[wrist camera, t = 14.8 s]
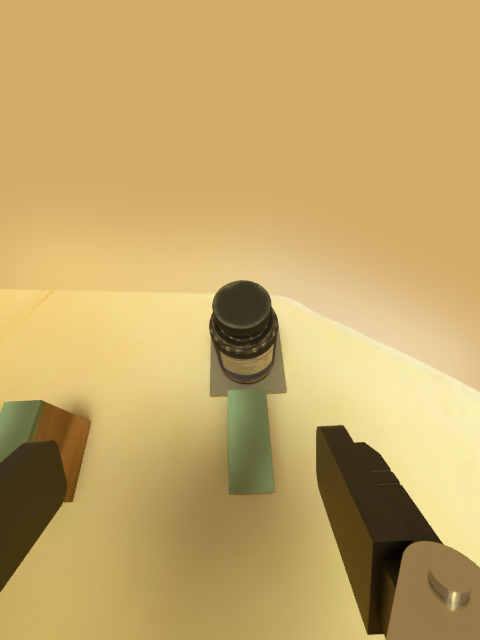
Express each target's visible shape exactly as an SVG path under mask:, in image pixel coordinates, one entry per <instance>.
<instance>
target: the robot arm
mask: <svg viewBox="0 0 480 640" xmlns="http://www.w3.org/2000/svg"><path fill="white" fill-rule="evenodd" d="M316 473H317V481H318V487H319V491H320V494H321V497H322V500H323V503H324V506H325V509H326V512H327V515H328V518H329V521H330V524H331V527H332V530H333V533H334V536H335V539H336V542H337V545H338V548H339V551H340V554H341V557H342V560H343V563H344V566H345V569H346V572H347V575H348V578H349V581H350V584H351V587H352V590H353V593H354V596H355V599H356V602H357V605H358V608H359V611H360V614H361V617H362V620H363V623H364V626H365V629H366V631H367V634H368V635H373V634H384V635H385V638H386V640H480V568H479V567H478V566H477V565H476V564H475V563H474V562H473V561H471V560H470V559H469V558H467V557H466V556H465V555H463V554H461V553H460V552H458V551H456V550H454V549H453V548H451V547H448V546H446V545H444V544H443V543H442V542H441V541H440V539H439V538H438V536H437V535H436V533H435V532H434V531H433V529H432V528H431V526H430V525H429V523H428V522H427V521H426V519H425V518H424V516H423V515H422V513H421V512H420V511H419V509H418V508H417V506H416V505H415V503H414V502H413V500H412V499H411V498H410V496H409V495H408V493H407V492H406V490H405V489H404V488H403V486H402V485H400V482H399V480H398V479H397V478H396V476H395V475H394V473H393V472H391V470H390V468H389V466H388V465H387V463H386V462H385V460H384V459H383V458H382V456H381V455H380V454H379V453H378V452H377V451H375V450H374V449H373V448H371V447H370V446H369V445H367V444H366V443H365V442H358V443H354V442H353V440H352V438H351V437H350V435H349V433H348V432H347V430H346V428H345V427H344V426H343V425H337V426H319V427H317V431H316ZM66 491H67V480H66V476H65V472H64V467H63V463H62V459H61V455H60V450H59V446H58V444H57V442H56V441H54V440H44V441H27V442H24V443H23V444H21V445H20V446H19V447H18V448H17V449H16V450H14V451H13V452H12V453H11V454H10V455H9V456H8V457H6V458H5V459H4V460H3V461H2V462H1V463H0V592H1V590H2V589H3V588H4V586H5V585H6V583H7V582H8V581H9V579H10V578H11V576H12V575H13V573H14V572H15V571H16V569H17V568H18V566H19V565H20V563H21V562H22V561H23V559H24V558H25V556H26V555H27V554H28V552H29V551H30V549H31V548H32V546H33V545H34V544H35V542H36V541H37V539H38V538H39V537H40V535H41V534H42V532H43V531H44V529H45V528H46V527H47V525H48V524H49V522H50V521H51V519H52V518H53V517H54V515H55V514H56V512H57V511H58V510H59V508H60V507H61V505H62V503H63V501H64V499H65V496H66Z"/></svg>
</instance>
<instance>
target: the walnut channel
mask: <svg viewBox="0 0 480 640" xmlns="http://www.w3.org/2000/svg"><path fill="white" fill-rule="evenodd" d="M90 423H91V422H89V421H87V420H85V419H82V418H80V417H78V416H76V415H73V414H71V413H69V412H67V411H64V410H62V409H60V408H58V407H55V406H53V405H51V404H49V403H46V402H44V401H42V400H34V401H15V402H4V405H3V407H2V410H1V412H0V463H1V462H2V461H3V460H4V459H5V458H6V457H8V456H9V455H10V454H11V453H12V452H13V451H14V450H16V449H17V448H18V447H19V446H20V445H21V444H23V443H24V442H27V441H44V440H54V441H56V442H57V444H58V446H59V450H60V455H61V459H62V463H63V467H64V472H65V476H66V480H67V491H66V496H65V499H64V501H63V502H72V501H73V497H74V492H75V488H76V484H77V480H78V475H79V471H80V467H81V462H82V458H83V454H84V449H85V445H86V441H87V436H88V432H89V428H90ZM228 464H229V494H230V495H251V494H271V493H274V481H273V469H272V457H271V445H270V434H269V422H268V410H267V398H266V388H263V389H244V390H228Z"/></svg>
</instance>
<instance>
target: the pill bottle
mask: <svg viewBox="0 0 480 640" xmlns="http://www.w3.org/2000/svg"><path fill="white" fill-rule="evenodd" d="M212 308H213V313H212V315H211V319H210V323H209V329H210V334H211V338H212V341H213V344H214V348H215V351H216V355H217V358H218V361H219V364H220V367H221V369H222V371H223V373H224V374H225V375H226V376H227V377H228V378H229V379H230V380H232V381H234V382H237V383H240V384H253V383H256V382H259V381H261V380H262V379H264V378H265V377H266V376H267V375H268V374H269V372H270V371H271V368H272V367H273V364H274V357H275V350H276V341H277V333H278V319H277V316H276V313H275V311H274V310H273V308H272V307H271V299H270V296H269V294H268V292H267V291H266V290H265V289H264V288H263V287H262V286H260V285H259V284H257V283H254V282H251V281H244V280H243V281H242V280H240V281H234V282H231V283H229V284H227V285H225V286H223V287H222V288H221V289H220V290H219V291H218V292H217V293H216V295H215V297H214V300H213V304H212Z"/></svg>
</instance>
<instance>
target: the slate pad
mask: <svg viewBox="0 0 480 640" xmlns="http://www.w3.org/2000/svg"><path fill="white" fill-rule="evenodd" d="M263 388H266V394H278V393H286V392H287V391H286V383H285V375H284V367H283V358H282V350H281V342H280V334H279V326H278V333H277V341H276V350H275V357H274V364H273V367H272V368H271V371H270V372H269V374H268V375H267V376H266V377H265V378H264V379H262V380H261V381H259V382H256V383H253V384H240V383H237V382H234V381H232V380H230V379H229V378H228V377H227V376H226V375H225V374H224V373H223V371H222V369H221V367H220V364H219V361H218V358H217V355H216V351H215V348H214V344H213V341H212V338H211V368H210V396H211V397H220V396H228V390H244V389H263Z"/></svg>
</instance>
